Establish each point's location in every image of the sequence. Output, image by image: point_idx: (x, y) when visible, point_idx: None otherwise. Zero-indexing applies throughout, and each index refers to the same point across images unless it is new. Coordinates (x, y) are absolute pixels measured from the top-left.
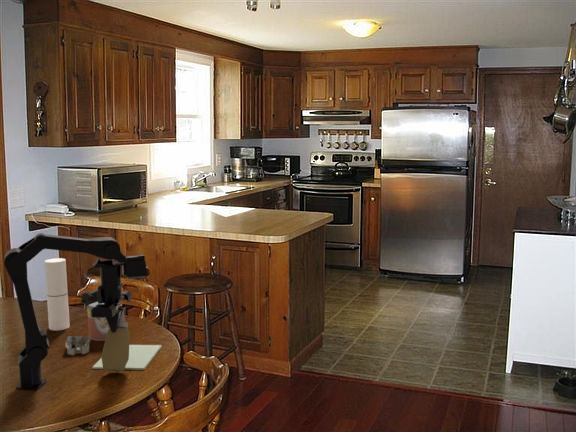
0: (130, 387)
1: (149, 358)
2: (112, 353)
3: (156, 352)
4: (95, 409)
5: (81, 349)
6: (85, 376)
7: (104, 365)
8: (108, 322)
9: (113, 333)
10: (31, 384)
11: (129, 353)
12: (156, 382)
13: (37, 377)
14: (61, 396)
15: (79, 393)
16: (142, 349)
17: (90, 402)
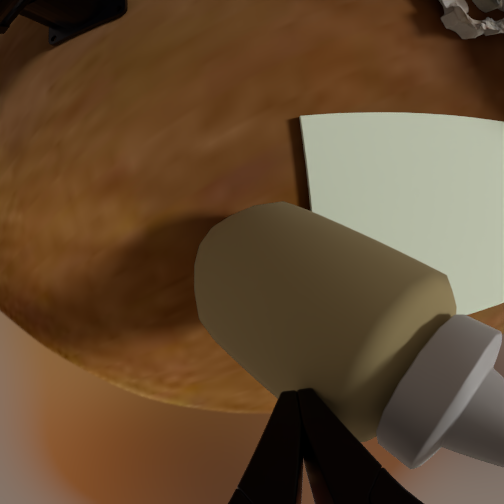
0: (154, 357)
1: None
2: (206, 324)
3: (467, 313)
4: (14, 312)
5: (452, 10)
6: (203, 130)
7: (199, 247)
8: (236, 495)
9: (294, 386)
10: (44, 24)
11: (466, 221)
12: (216, 408)
13: (52, 19)
14: (26, 164)
15: (56, 210)
16: (494, 254)
17: (29, 282)
